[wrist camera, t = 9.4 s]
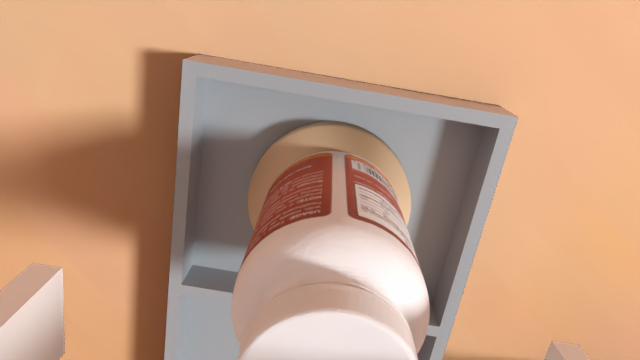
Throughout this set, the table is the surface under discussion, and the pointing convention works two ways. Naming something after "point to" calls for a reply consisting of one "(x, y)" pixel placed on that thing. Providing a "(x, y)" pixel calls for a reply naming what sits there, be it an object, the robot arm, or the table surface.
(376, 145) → the coaster
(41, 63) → the table surface
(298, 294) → the pill bottle
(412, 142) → the caddy
